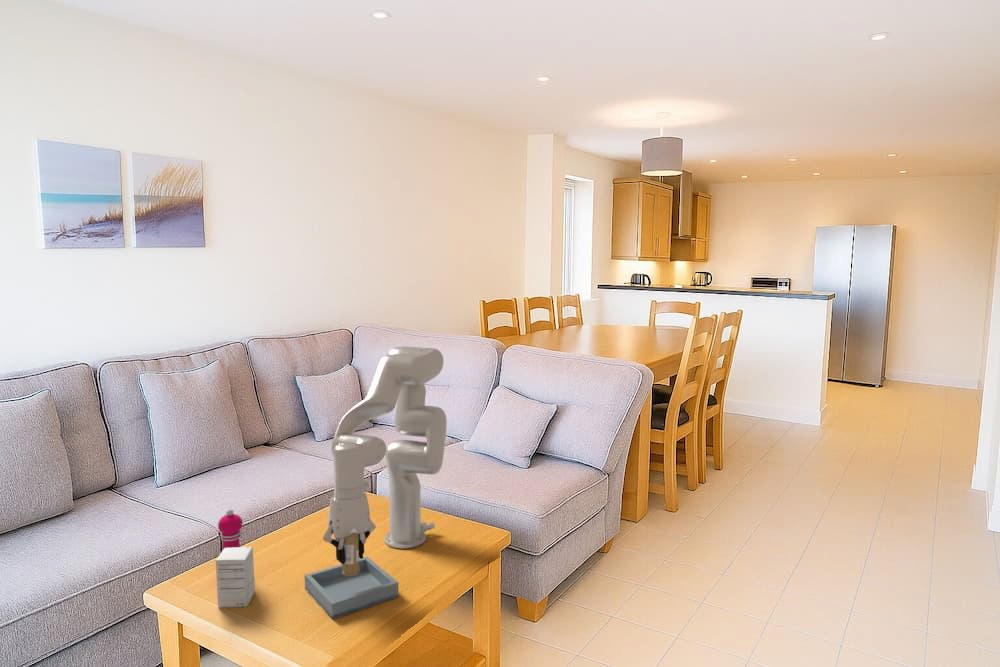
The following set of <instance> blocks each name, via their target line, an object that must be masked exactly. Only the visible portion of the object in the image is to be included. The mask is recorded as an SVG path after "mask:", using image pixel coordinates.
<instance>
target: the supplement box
mask: <svg viewBox="0 0 1000 667" xmlns="http://www.w3.org/2000/svg"><path fill="white" fill-rule="evenodd" d="M222 549H223V548H222ZM254 566H255V565H254V547H253V546H240V547H232V548H224V549H223V551H222V550H221V552H220V553H219V555H218V557H217V558H216V559H215V571H216V572H215V573H216V575H215V576H216V594H217V607H218V608H238V607H239V608H240V607H242V606H244V607H248V606H249V604H250V602H251V600H252V598H253V596H254V594H255V592H256V590H255V588H256V587H255V569H254Z"/></svg>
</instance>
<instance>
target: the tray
mask: <svg viewBox="0 0 1000 667" xmlns="http://www.w3.org/2000/svg"><path fill="white" fill-rule="evenodd" d="M359 570H360V571H359V573H358V574H356V575H354V576H345V575H343V574H342V564H341V563H340V564H338V565H334V566H331V567H328V568H324V569H320V570H316V571H314V572H310V573H306V574H304V590H305V589H306V590H307V591H308V592H307V591H306V590H305V591H306V592H307V593H308V595H309V596H312V597H313V598H314V599H315V600H316V601H315V600H314V599H313V598H312V597H311V598H312V599H313V600H314V601H315V602H316V604H318V605H319V606H321V607H322V608H323V609H324V610H325V611H324V610H323V609H322V608H321V609H322V610H323V611H324V612H325V613H326V615H327V616H328V617H329V618H330V619H331V620H335V619H338V618H341V616H342V617H344V615H345V616H346V615H347V616H348V615H350V614H353V613H356V612H358V611H362V610H365V609H368V608H371V607H374V606H377V605H380V604H383V603H385V602H388V601H391V600H394V599H395V600H396V599H398V598H399V582H398V580H396V578H394V577H392V576H391V575H390V574H389V573H387V571H385V570H384V569H383V568H382V567H381V566H379V565H378V564H377V563H376V562H374V561H373V560H372V559H371V558H370V557H369V556H365V557H363V558H362V559H360V558H359Z"/></svg>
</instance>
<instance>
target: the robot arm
mask: <svg viewBox="0 0 1000 667" xmlns="http://www.w3.org/2000/svg"><path fill="white" fill-rule="evenodd" d="M443 367H444V356H443V354H442V352H441V351H440V350H439V349H438V348H434V347H417V346H396V347H392V348H391V349H389V351H388V354H387V355H384V356H382V358H380V360H379V361H378V364H377V367H376V369H375V371H374V375H373V377H372V379H371V383H370V385H369V388H368V391H367V392H366V396H365V398H364V399H362V400H361V401H359V402H358V403H357V404H355V405H354V406H353V407H352V408H351V409H349V410H348V412H346V413H345V415H344V416H343V417H342V418H341V420H340V421H339V423H338V425H337V427H336V430H335V433H334V436H333V438H332V439H333V440H332V442H331V448H330V449H331V456H332V457H333V489H334V490H333V496H331V498H330V501H329V507H328V515H327V516H328V517H327V529H326V531H325V533H324V535H323V536H322V540H323V541H324V542H326V543H328V544H331V545H333V546H334V547H335V554H336V555H335V558H336V560H337V561H338V562H339V563H340V564H344V563H345V549H344V548H343V543H344V538H345V537H348V536H350V534H352V533H350V532H351V530H352V529H353V528H355V529H356V531H357V532H355V533H356V534H358V543H359V559H362V558H364V553H365V544H366V541H367V539H368V538H369V536H370V535H371V533H372V532H374V530H375V529H377V526H376V524H375V523H374V522H373V521H372V520H371V514H370V513H371V511H370V506H369V505H370V504H369V499H368V495H367V493H366V490H367V489H368V488H370V484H369V482H365V468H368V467H372V466H376V465H378V464H380V463H381V461H383V459H384V457H385V463H386V468H387V471H388V472H387V473H388V490H389V491H388V492H389V493H388V496H389V497H388V499H389V505H388V506H389V507H388V508H389V509H388V510H389V511H388V512H389V532H388V533H386V534H385V536H384V543H385V544H386V545H387V546H389V547H390V548H391V547H392V548H394V549H403V550H404V549H412V548H417V547H418V546H421V545H422V544H424V543H425V542H426V539H427V535H426V532H427V531H429V530H433V529H435V528H436V526H435V523H434V522H428V523H427V522H426V521H423V522H422V520H421V519H422V516H421V514H422V512H421V511H422V510H421V507H422V506H421V505H422V503H421V502H422V500H421V499H422V497H421V491H422V490H421V489H422V488H421V487H422V486H421V482H420V479H419V477H418V475H417V474H420V475H431V476H432V475H437V474H438V473H439V472H441V469H442V466H443V462H444V454H445V444H446V437H447V436H446V435H447V425H448V424H447V423H448V422H447V416H446V412H445V411H444V409H442V408H441V407H438V406H433V405H426V394H427V389H426V386H425V384H427V383H428V382H430V381H432V380H433V379H435V378H436V377H437V376H439V374H440V373H441V371H442V370H443ZM395 408H396V409H395ZM393 410H395V415H394V416H395V417H394V429H395V431H396V432H397V433H398V434H399V435H404V436H408V437H409V436H410V437H419V438H420V437H421V438H426V441H419V440H418V441H417V440H410V439H397V440H393V441H391V442H390V443H388V446H387V445H386V443H385V441H384V440H383V439H382V438H380V437H378V436H373V435H372V436H371V435H363V434H355V431H357V429H359V427H360V426H361V425H363V424H365V423H366V422H368V421H371V420H374V419H377V418H379V417H382V416H385V415H387V414H389V413H391V412H393ZM332 535H333V537H334V538H333V537H332Z"/></svg>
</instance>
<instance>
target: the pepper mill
mask: <svg viewBox="0 0 1000 667" xmlns="http://www.w3.org/2000/svg"><path fill="white" fill-rule="evenodd" d="M225 513H226V514H224V515H223V516H221V518H220V519H219V521H218V524H217V527H218V531H219V532H220V539H221V541H222V550H221V552H222V551H223V549H224V548H232V547H241V545H240V538H241V537H242V533H241V529H242V527H243V520H242V517H241V516H240V515H239V514H235V513H234V510H233V509H231V508H230V509H227V510H226V512H225Z"/></svg>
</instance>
